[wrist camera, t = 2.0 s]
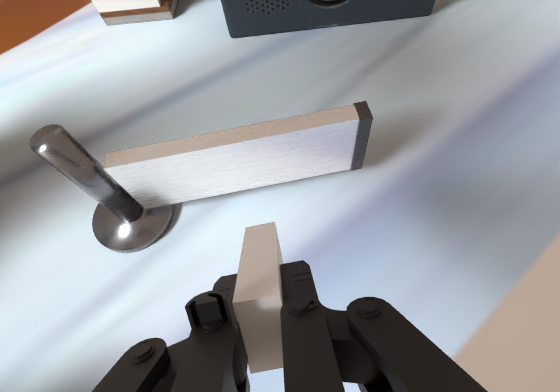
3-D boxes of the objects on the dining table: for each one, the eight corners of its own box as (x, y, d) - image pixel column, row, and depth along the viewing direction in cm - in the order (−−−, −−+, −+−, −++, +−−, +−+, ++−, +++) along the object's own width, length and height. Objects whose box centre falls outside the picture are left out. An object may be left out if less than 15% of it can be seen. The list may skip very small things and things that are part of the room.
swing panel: (145, 210, 31) (103, 170, 24) (146, 194, 31) (105, 151, 25) (361, 168, 31) (372, 117, 24) (356, 153, 31) (365, 100, 25)
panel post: (81, 238, 32) (-38, 170, 21) (125, 174, 35) (41, 87, 25) (147, 263, 30) (53, 203, 19) (187, 192, 33) (126, 107, 23)
